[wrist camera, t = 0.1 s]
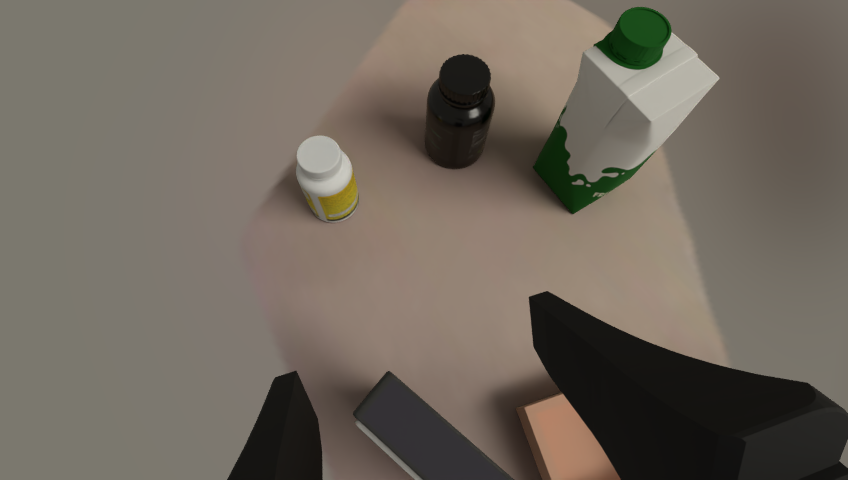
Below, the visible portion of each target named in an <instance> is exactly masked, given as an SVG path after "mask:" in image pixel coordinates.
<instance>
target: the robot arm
mask: <svg viewBox="0 0 848 480" xmlns="http://www.w3.org/2000/svg"><path fill="white" fill-rule="evenodd" d="M529 304H530V314H531V325H532V335H533V346H534V349H535V350H536V352H537V354H538V356H539V358H540V360H541V361H542V363H543V365H544V367H545V368H546V370H547V372H548V374H549V375H550V377H551V378H552V380H553V381H554V382H555V384H556V385H557V386H558V388H559V389H560V391H561V392H562V393H563V395H564V396H565V397H566V399H567V400H568V401H569V403H570V404H571V405H572V407H573V408H574V409H575V411H576V412H577V414H578V415H579V416H580V418H581V419H582V420H583V422H584V423H585V424H586V426H587V427H588V428H589V430H590V431H591V432H592V434H593V435H594V437H595V438H596V440H597V441H598V443H599V444H600V446H601V447H602V449H603V450H604V452H605V454H606V455H607V457H608V459H609V460H610V462H611V464H612V465H613V467H614V469H615V470H616V472H617V474H618V475H619V477H620V479H621V480H848V468H847V467H845V466H844V465H843V464H842V463H841V462H840V461H839V460H840V457H841V455H842V452H843V450H844V447H845V445H846V442H847V440H848V413H847V412H846V411H845V410H844V409H843V408H842V407H840V406H839V405H837V404H836V403H835V402H833V401H832V400H831V399H829V398H828V397H826V396H825V395H824V394H822V393H821V392H820V391H818V390H817V389H815V388H814V387H813V386H811V385H810V384H808V383H805V382H799V381H793V380H787V379H781V378H775V377H769V376H764V375H758V374H754V373H749V372H745V371H740V370H736V369H731V368H727V367H724V366H720V365H716V364H712V363H709V362H705V361H702V360H698V359H695V358H692V357H688V356H685V355H682V354H679V353H676V352H673V351H670V350H668V349H665V348H662V347H660V346H657V345H654V344H652V343H649V342H647V341H644V340H642V339H639V338H637V337H635V336H633V335H630V334H628V333H626V332H624V331H621V330H619V329H617V328H615V327H613V326H611V325H609V324H607V323H605V322H603V321H601V320H599V319H597V318H595V317H593V316H591V315H590V314H588V313H586V312H584V311H582V310H580V309H579V308H577V307H575V306H573V305H571V304H570V303H568V302H566V301H564V300H562V299H561V298H559V297H557V296H555V295H554V294H552V293H550V292H548V291H546V292H543V293H540V294H536V295H533V296H530V297H529ZM227 480H322V447H321V439H320V431H319V424H318V418H317V416H316V414H315V411H314V409H313V407H312V405H311V402H310V400H309V398H308V396H307V393H306V391H305V389H304V387H303V384H302V382H301V380H300V378H299V375H298V373H297V371H294V372H291V373H288V374H284V375H281V376H278V377H275V379H274V380H273V382H272V385H271V388H270V390H269V392H268V395H267V398H266V400H265V402H264V405H263V407H262V410H261V412H260V414H259V417H258V419H257V421H256V423H255V425H254V427H253V430H252V432H251V434H250V436H249V438H248V440H247V443H246V445H245V447H244V449H243V451H242V452H241V454H240V457H239V458H238V460H237V462H236V464H235V466H234V468H233V470H232V472H231V474H230V475H229V477H228V479H227Z"/></svg>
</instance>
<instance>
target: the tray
mask: <svg viewBox="0 0 848 480" xmlns="http://www.w3.org/2000/svg"><path fill="white" fill-rule="evenodd" d="M516 410H517V413H518V415H519V418H520V421H521V424H522V426H523V429H524V432H525V434H526V437H527V440H528V443H529V445H530V448H531V451H532V453H533V456H534V459H535V462H536V464H537V467H538V470H539V473H540V475H541V478H542V480H621V479H620V477H619V475H618V474H617V472H616V470H615V469H614V467H613V465H612V464H611V462H610V460H609V459H608V457H607V455H606V454H605V452H604V450H603V449H602V447H601V446H600V444H599V443H598V441H597V440H596V438H595V437H594V435H593V434H592V432H591V431H590V430H589V428H588V427H587V426H586V424H585V423H584V422H583V420H582V419H581V418H580V416H579V415H578V414H577V412H576V411H575V409H574V408H573V407H572V405H571V404H570V403H569V401H568V400H567V399H566V397H565V396H564V395H563V393H562V392H561V393H558V394H555V395H552V396H549V397H546V398H544V399H541V400H538V401H535V402H532V403H529V404H526V405H524V406H521V407H518V408H516Z"/></svg>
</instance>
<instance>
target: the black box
mask: <svg viewBox="0 0 848 480" xmlns="http://www.w3.org/2000/svg"><path fill="white" fill-rule="evenodd" d="M353 415H354V416H355V418H356V419H357V421H356V422H355V425H356V426H357V427H358V428H359V429H360V430H361V431H363V432H364V433H365V434H366V435H367V436H368V437H369V438H370V439H371V440H372V441H373V442H374V443H375V444H377V445H378V446H379V447H380V448H381V449H382V450H383V451H384V452H385V453H386V454H387V455H388V456H390V457H391V458H392V459H393V460H394V461H395V462H396V463H397V464H398V465H399V466H400V467H401V468H402V469H404V470H405V471H406V472H407V473H408V474H409V475H410V476H411V477H412V478H413V479H414V480H514V479H513V478H511V477H510V476H509V475H508V474H507V473H506V472H505V471H503V470H502V469H501V468H500V467H499V466H498V465H497V464H495V463H494V462H493V461H492V460H491V459H490V458H489V457H487V456H486V455H485V454H484V453H483V452H482V451H481V450H479V449H478V448H477V447H476V446H475V445H474V444H473V443H471V442H470V441H469V440H468V439H467V438H466V437H465V436H463V435H462V434H461V433H460V432H459V431H458V430H457V429H455V428H454V427H453V426H452V425H451V424H450V423H449V422H447V421H446V420H445V419H444V418H443V417H442V416H441V415H439V414H438V413H437V412H436V411H435V410H434V409H433V408H431V407H430V406H429V405H428V404H427V403H426V402H425V401H423V400H422V399H421V398H420V397H419V396H418V395H417V394H415V393H414V392H413V391H412V390H411V389H410V388H409V387H407V386H406V385H405V384H404V383H403V382H402V381H401V380H399V379H398V378H397V377H396V376H395V375H394V374H393V373H391V372H390V371H388V372H386V374H385V375H384V376H383V377H382V378H381V379H380V381H379V382H378V383H377V384H376V386H375V387H374V388H373V389H372V390H371V392H370V393H369V394H368V395H367V396H366V398H365V399H364V400H363V401H362V403H361V404H360V405H359V406H358V407H357V409H356V410H355V411H354V412H353Z"/></svg>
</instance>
